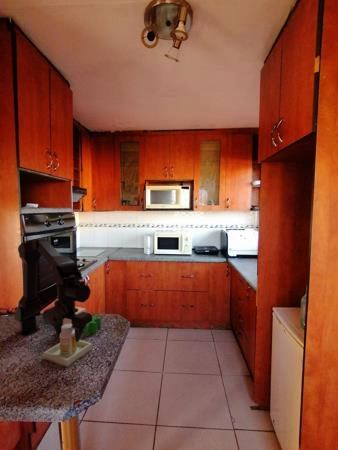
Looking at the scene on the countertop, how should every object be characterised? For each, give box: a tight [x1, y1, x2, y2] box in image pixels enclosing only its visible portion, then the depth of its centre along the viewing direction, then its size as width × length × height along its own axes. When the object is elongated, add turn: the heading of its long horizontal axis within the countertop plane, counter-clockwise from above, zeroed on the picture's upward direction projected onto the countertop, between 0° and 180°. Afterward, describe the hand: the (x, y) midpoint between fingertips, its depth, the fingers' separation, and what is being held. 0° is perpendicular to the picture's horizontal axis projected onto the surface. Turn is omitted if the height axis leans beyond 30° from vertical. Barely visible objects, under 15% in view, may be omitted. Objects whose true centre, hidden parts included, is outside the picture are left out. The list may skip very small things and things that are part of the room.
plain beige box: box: [52, 306, 87, 336], centre depth 105 cm, size 11×11×9 cm
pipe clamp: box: [83, 314, 102, 337], centre depth 106 cm, size 11×4×5 cm, turn 172°
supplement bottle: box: [59, 324, 77, 356], centre depth 88 cm, size 5×5×10 cm
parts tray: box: [42, 339, 94, 368], centre depth 88 cm, size 12×12×2 cm
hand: (68, 339), depth 88 cm, fingers open, 9 cm apart
